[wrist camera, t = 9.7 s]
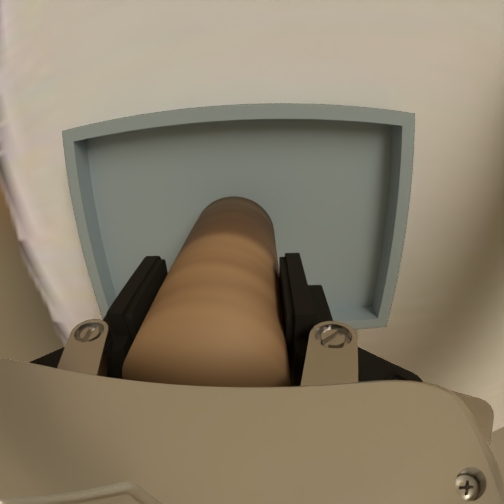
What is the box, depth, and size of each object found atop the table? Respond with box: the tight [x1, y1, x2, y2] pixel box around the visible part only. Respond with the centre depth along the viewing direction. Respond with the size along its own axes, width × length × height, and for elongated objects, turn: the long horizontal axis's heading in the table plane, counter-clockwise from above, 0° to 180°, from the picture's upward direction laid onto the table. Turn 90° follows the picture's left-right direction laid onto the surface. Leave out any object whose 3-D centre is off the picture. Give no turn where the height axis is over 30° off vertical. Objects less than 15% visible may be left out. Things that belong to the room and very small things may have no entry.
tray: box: [62, 103, 415, 329], centre depth 18 cm, size 14×20×2 cm
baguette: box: [122, 196, 291, 387], centre depth 12 cm, size 4×4×11 cm
